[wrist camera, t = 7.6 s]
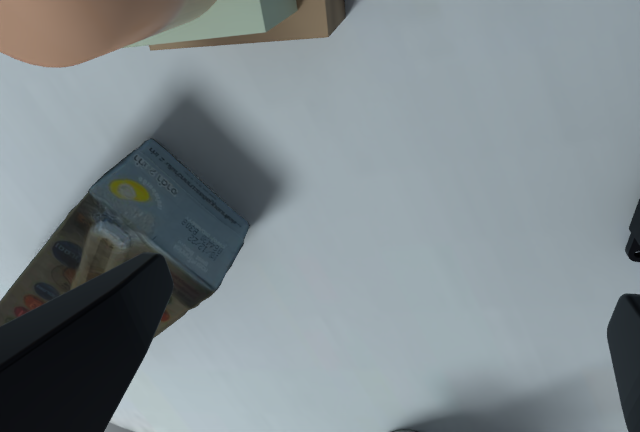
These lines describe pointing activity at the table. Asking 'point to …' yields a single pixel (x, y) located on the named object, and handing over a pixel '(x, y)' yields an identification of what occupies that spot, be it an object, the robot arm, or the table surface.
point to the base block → (283, 26)
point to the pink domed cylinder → (86, 26)
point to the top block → (227, 21)
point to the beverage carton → (137, 235)
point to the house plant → (404, 431)
